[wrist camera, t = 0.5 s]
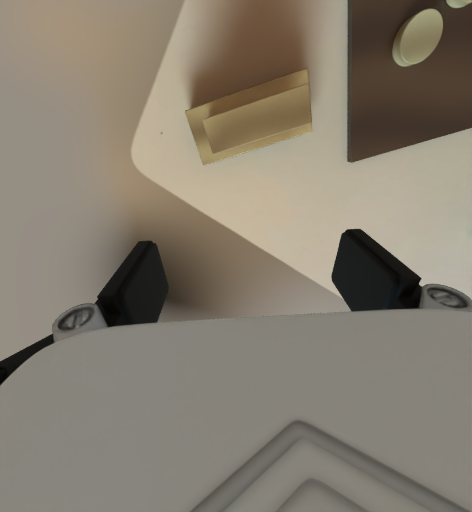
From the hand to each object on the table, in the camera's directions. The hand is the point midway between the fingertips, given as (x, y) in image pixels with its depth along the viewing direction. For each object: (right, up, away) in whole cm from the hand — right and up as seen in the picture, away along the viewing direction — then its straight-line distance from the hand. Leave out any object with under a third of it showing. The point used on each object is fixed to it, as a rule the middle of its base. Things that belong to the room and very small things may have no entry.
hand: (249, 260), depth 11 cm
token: (+16, +21, +9) cm, 28 cm away
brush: (+1, +15, +13) cm, 20 cm away
